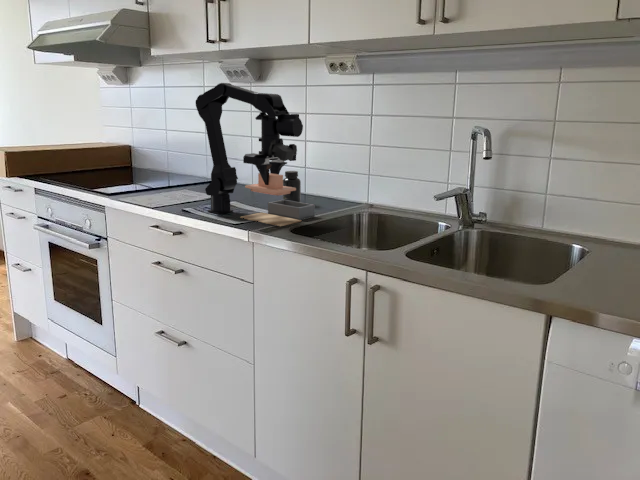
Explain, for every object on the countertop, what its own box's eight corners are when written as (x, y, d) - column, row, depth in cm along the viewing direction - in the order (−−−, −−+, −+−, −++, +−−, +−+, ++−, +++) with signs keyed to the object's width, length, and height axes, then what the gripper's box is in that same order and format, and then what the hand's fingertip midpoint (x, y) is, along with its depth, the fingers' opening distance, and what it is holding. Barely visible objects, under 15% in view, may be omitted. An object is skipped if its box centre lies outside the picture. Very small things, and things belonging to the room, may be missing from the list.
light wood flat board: (240, 217, 182) (240, 216, 182) (261, 213, 190) (261, 212, 189) (280, 226, 171) (280, 225, 171) (301, 221, 179) (301, 220, 179)
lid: (245, 190, 179) (245, 173, 178) (263, 188, 186) (263, 170, 184) (277, 196, 171) (278, 177, 169) (295, 193, 177) (296, 175, 175)
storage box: (268, 213, 189) (268, 202, 188) (283, 210, 195) (283, 199, 194) (298, 220, 181) (299, 208, 180) (314, 216, 187) (314, 204, 186)
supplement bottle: (290, 200, 214) (291, 169, 212) (304, 203, 210) (304, 171, 207) (278, 203, 209) (278, 171, 206) (292, 205, 205) (292, 173, 202)
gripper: (268, 137, 162) (268, 190, 166) (309, 135, 176) (308, 184, 180) (241, 135, 168) (242, 186, 172) (283, 133, 183) (283, 180, 186)
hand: (270, 184), depth 177 cm, fingers closed on lid, 3 cm apart
